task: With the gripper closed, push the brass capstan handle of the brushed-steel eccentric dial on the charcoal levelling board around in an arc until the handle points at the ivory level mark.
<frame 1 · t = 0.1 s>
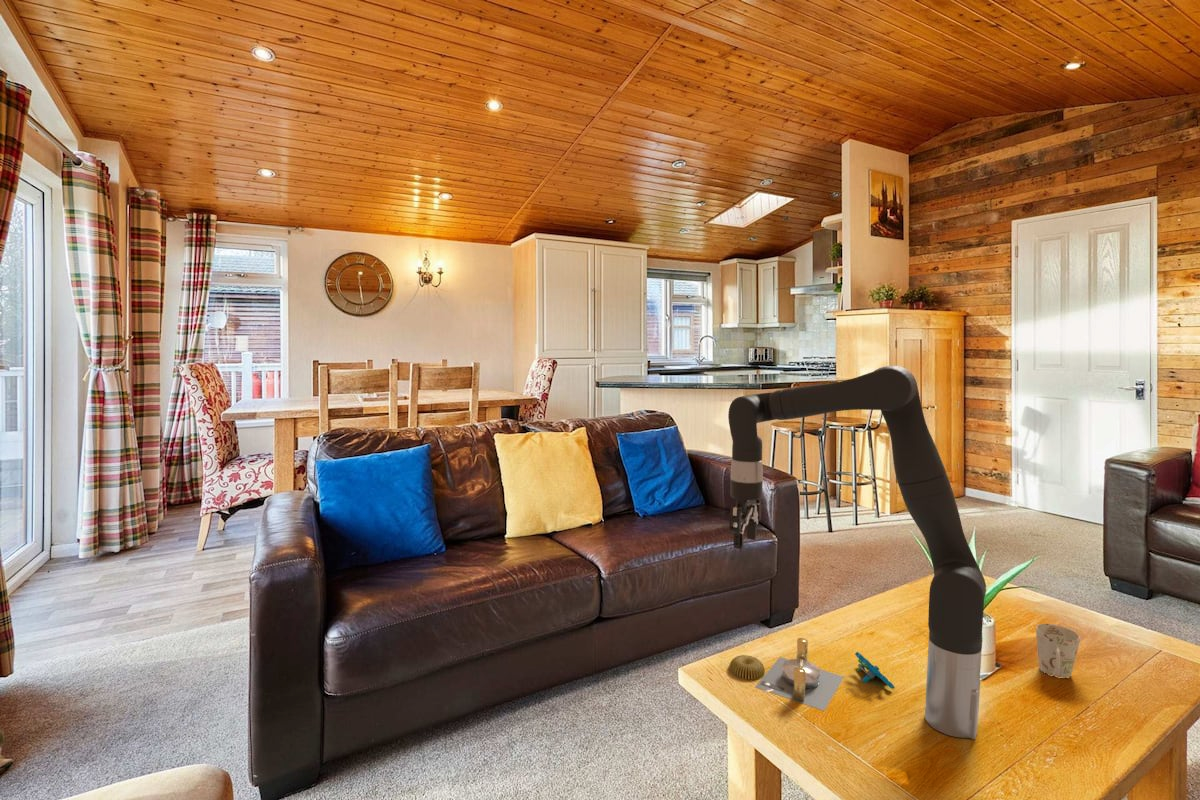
hand: (745, 543, 147), 29 cm above the table, fingers open, 8 cm apart
sculpture: (746, 677, 141), on the table
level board: (800, 688, 136), on the table
gear: (872, 686, 137), on the table
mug: (1055, 677, 141), on the table
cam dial: (800, 667, 136), point 5 cm above the table, hinge at -75.0°
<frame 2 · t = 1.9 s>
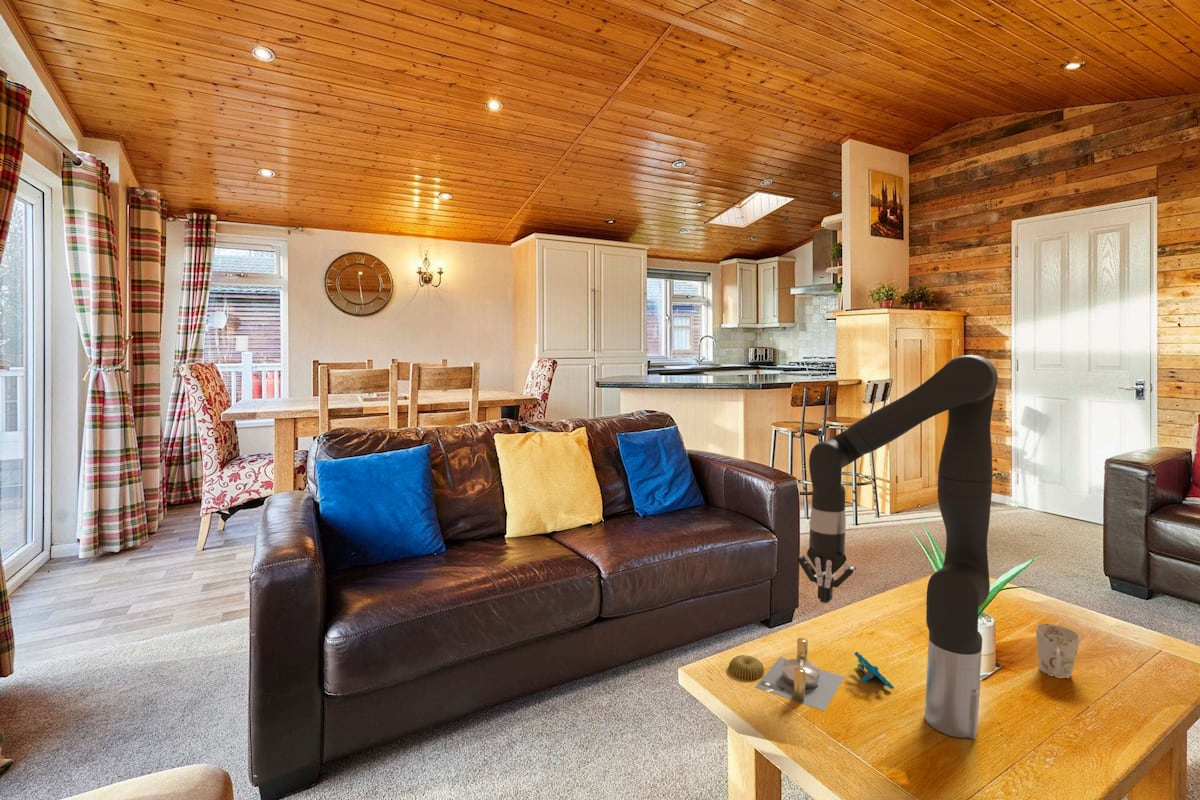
hand: (824, 601, 138), 19 cm above the table, fingers closed
nothing on the table moved.
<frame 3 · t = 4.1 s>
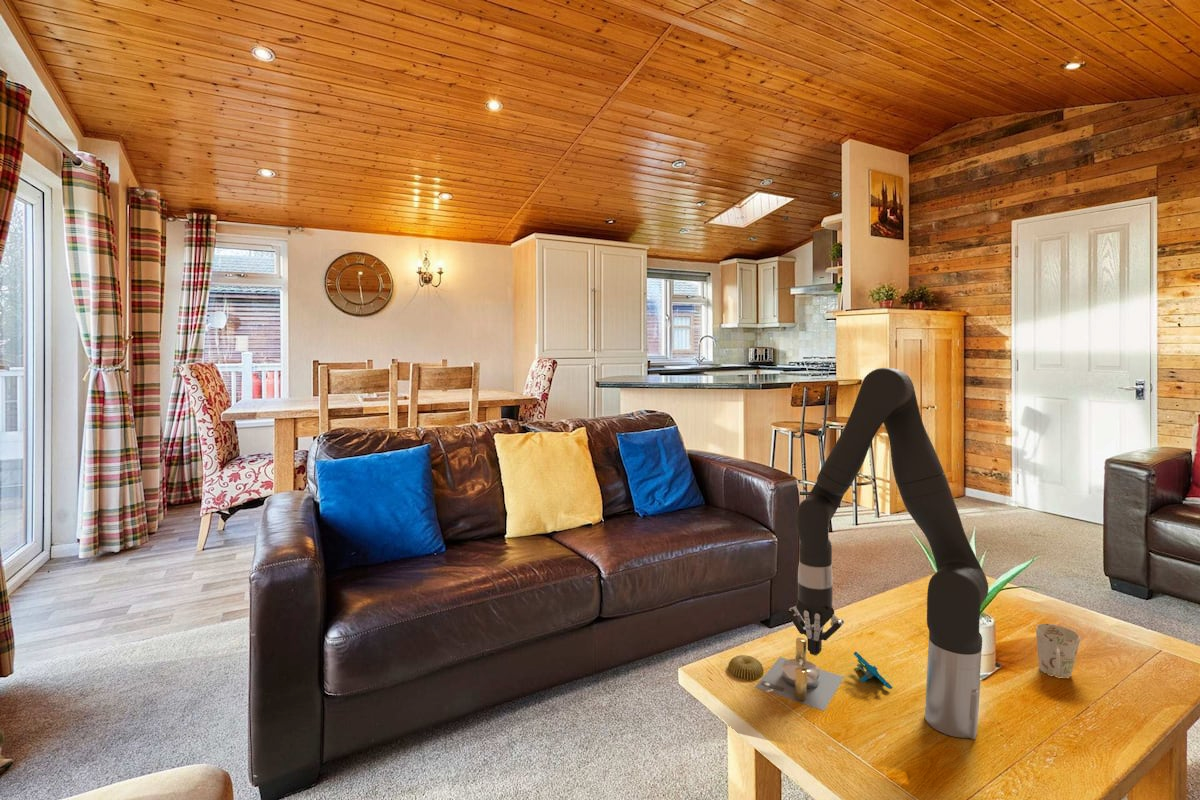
hand: (814, 653, 140), 6 cm above the table, fingers closed
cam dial: (800, 667, 136), point 5 cm above the table, hinge at -72.8°, touching gripper
everything else where it was.
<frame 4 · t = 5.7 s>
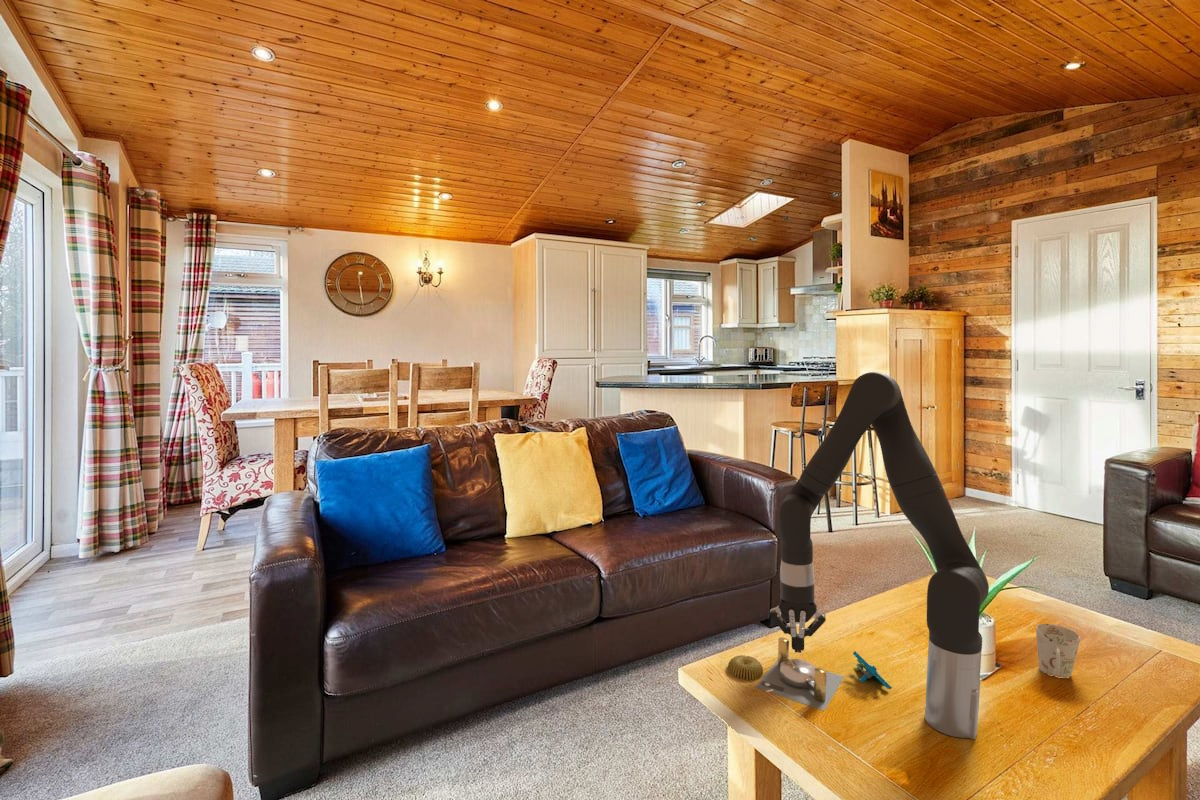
hand: (797, 650, 141), 6 cm above the table, fingers closed
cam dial: (800, 667, 136), point 5 cm above the table, hinge at -38.2°, touching gripper
everything else where it was.
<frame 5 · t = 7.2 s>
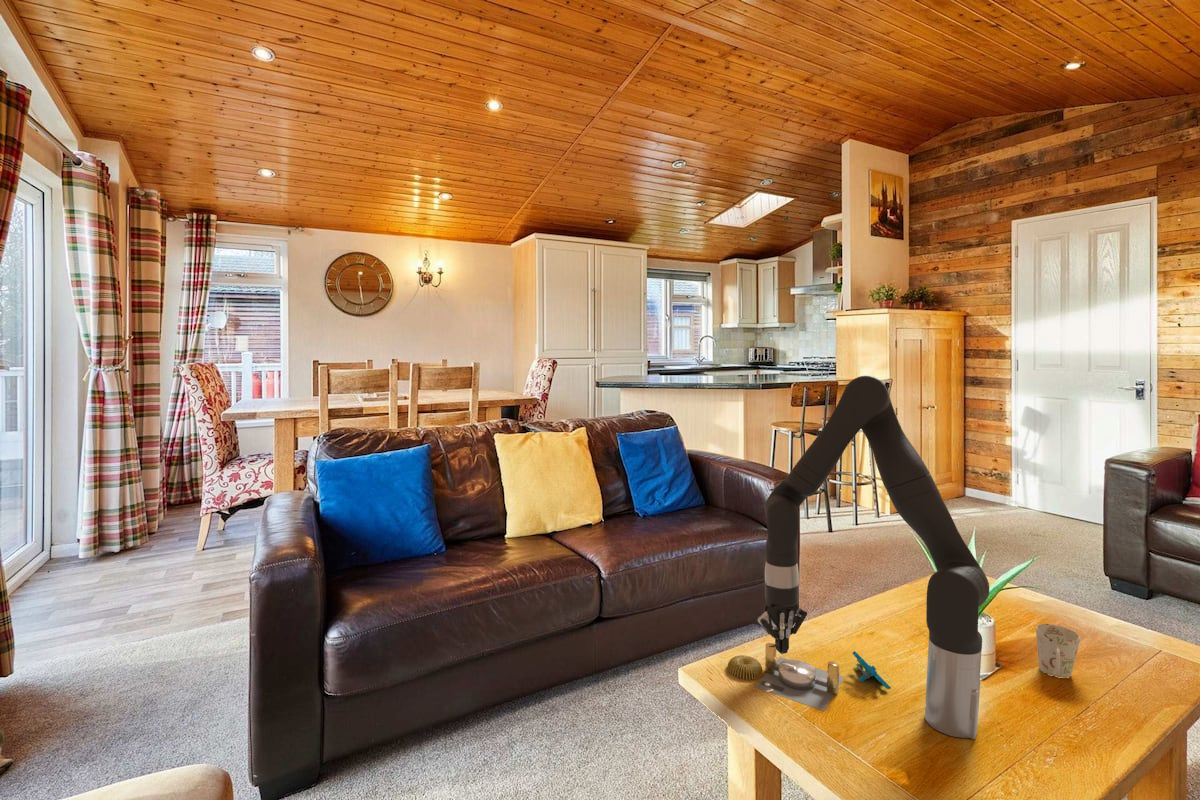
hand: (781, 652, 141), 6 cm above the table, fingers closed
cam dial: (800, 667, 136), point 5 cm above the table, hinge at -0.3°, touching gripper
everything else where it was.
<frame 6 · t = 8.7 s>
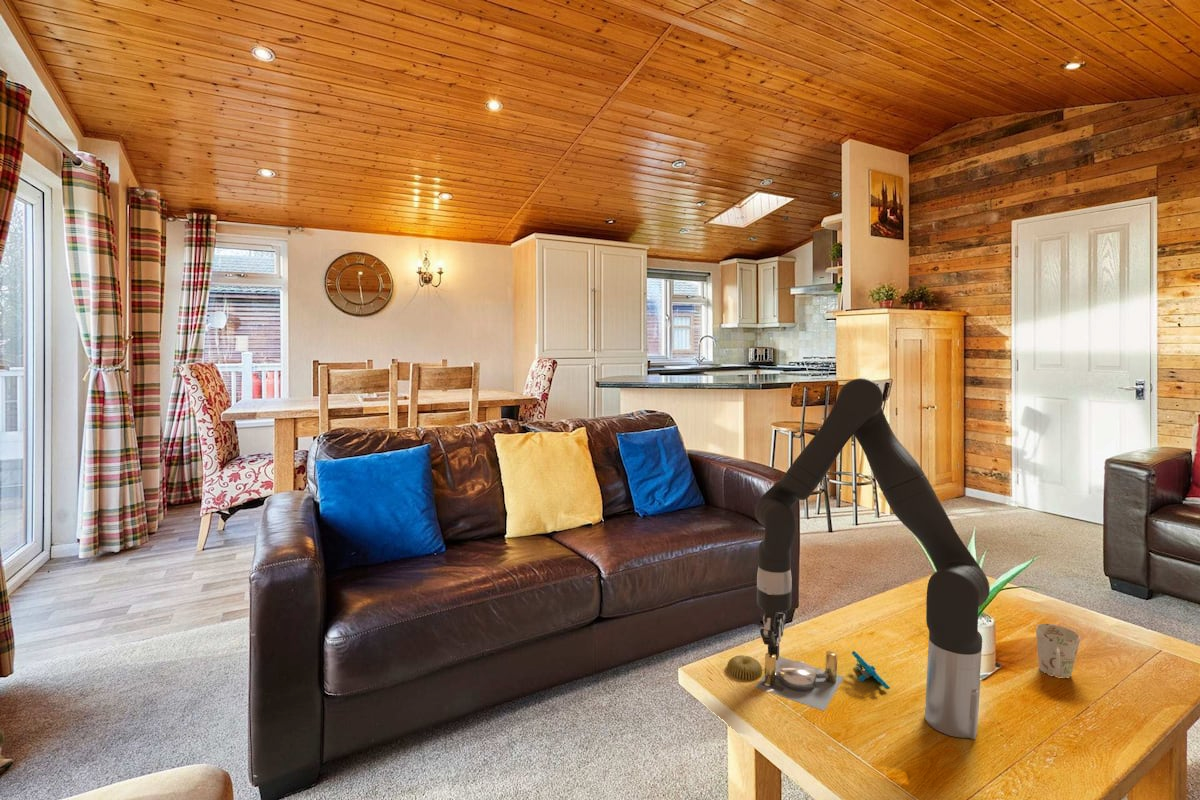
hand: (773, 658, 138), 6 cm above the table, fingers closed
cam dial: (800, 667, 136), point 5 cm above the table, hinge at 38.9°, touching gripper
everything else where it was.
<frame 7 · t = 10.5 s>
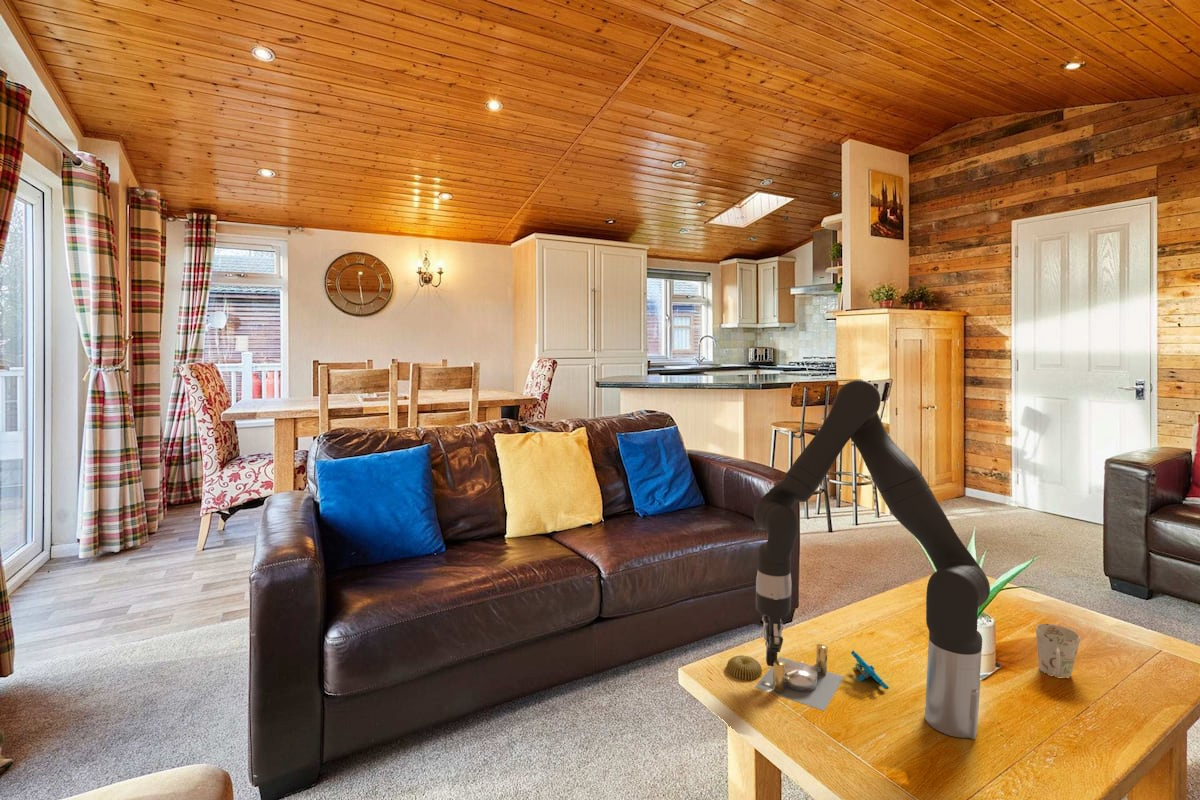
hand: (771, 664, 135), 6 cm above the table, fingers closed
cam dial: (800, 667, 136), point 5 cm above the table, hinge at 66.7°
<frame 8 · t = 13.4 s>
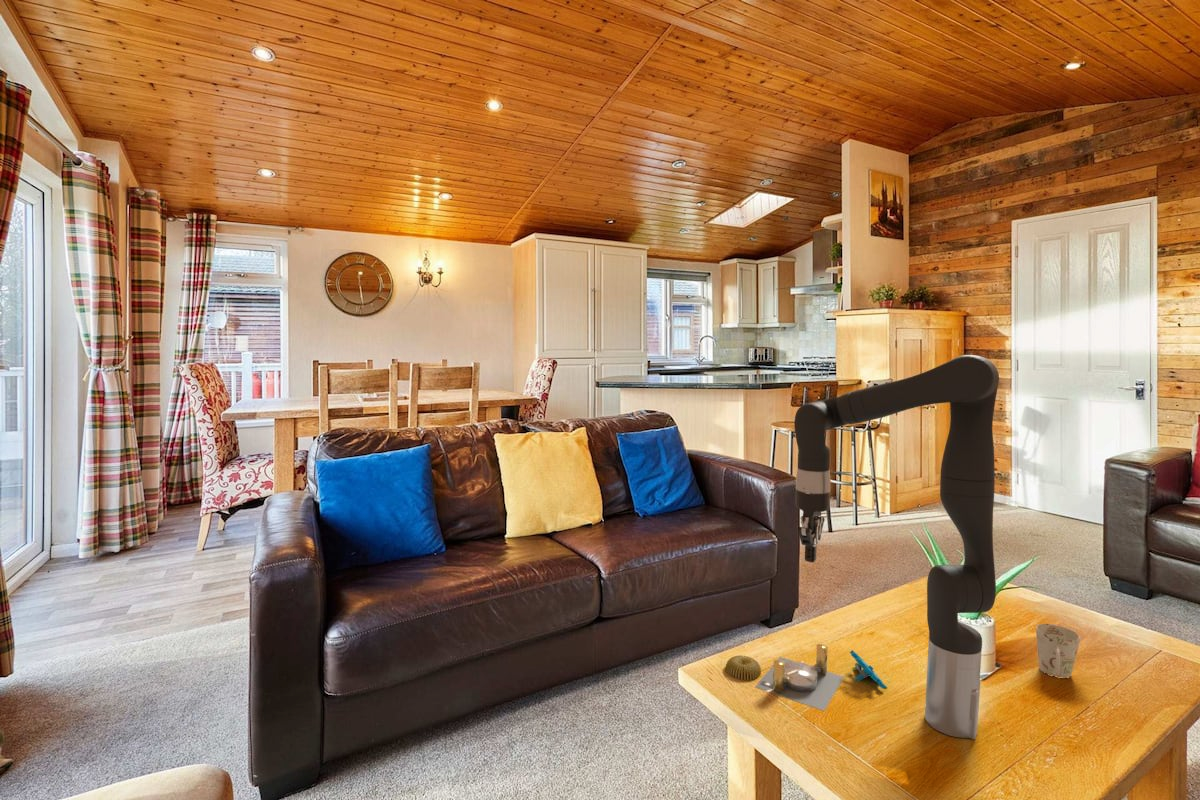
hand: (810, 560, 141), 27 cm above the table, fingers closed
at the end: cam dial at +67° (first picture: -75°) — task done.
